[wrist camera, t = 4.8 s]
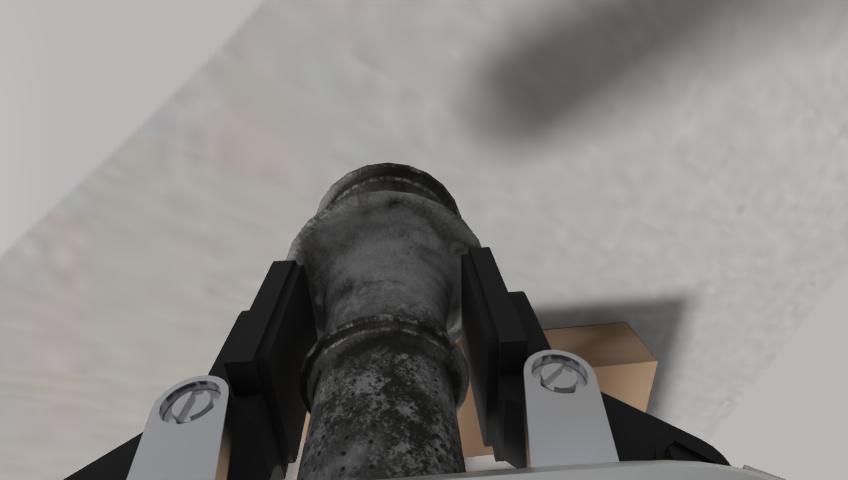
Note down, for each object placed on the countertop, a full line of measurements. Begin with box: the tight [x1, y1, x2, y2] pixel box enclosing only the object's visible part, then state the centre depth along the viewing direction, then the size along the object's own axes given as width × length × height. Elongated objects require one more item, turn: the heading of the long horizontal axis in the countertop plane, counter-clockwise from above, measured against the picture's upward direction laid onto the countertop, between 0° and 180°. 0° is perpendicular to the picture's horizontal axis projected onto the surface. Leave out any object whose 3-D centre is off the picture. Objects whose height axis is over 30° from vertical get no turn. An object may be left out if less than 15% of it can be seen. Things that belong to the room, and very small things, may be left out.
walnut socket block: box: [302, 322, 658, 457], centre depth 30 cm, size 20×20×4 cm
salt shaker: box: [286, 163, 482, 480], centre depth 11 cm, size 6×6×12 cm
